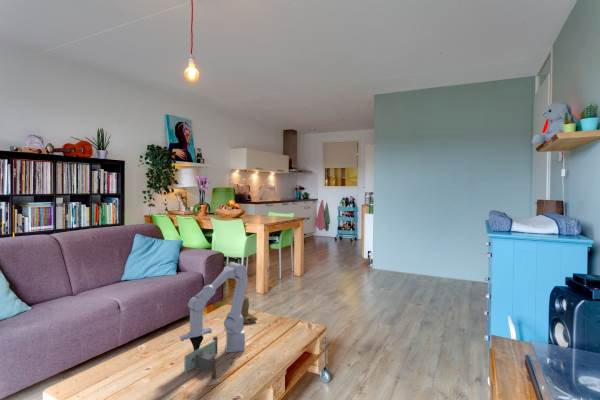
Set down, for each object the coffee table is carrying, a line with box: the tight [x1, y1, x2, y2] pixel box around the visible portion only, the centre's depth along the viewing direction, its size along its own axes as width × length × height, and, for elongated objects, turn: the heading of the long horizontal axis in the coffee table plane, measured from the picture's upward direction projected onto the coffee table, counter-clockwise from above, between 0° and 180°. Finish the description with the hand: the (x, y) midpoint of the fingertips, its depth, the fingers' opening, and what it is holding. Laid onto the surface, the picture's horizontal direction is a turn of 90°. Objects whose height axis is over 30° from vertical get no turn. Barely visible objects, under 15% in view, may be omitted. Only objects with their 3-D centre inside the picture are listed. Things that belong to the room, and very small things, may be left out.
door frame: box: [210, 336, 219, 380], centre depth 152 cm, size 2×24×8 cm, turn 13°
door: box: [183, 339, 218, 373], centre depth 153 cm, size 19×2×7 cm, turn 150°
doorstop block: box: [195, 351, 216, 374], centre depth 149 cm, size 8×4×6 cm, turn 60°
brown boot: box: [241, 294, 258, 324], centre depth 204 cm, size 15×12×15 cm
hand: (196, 351), depth 153 cm, fingers closed
